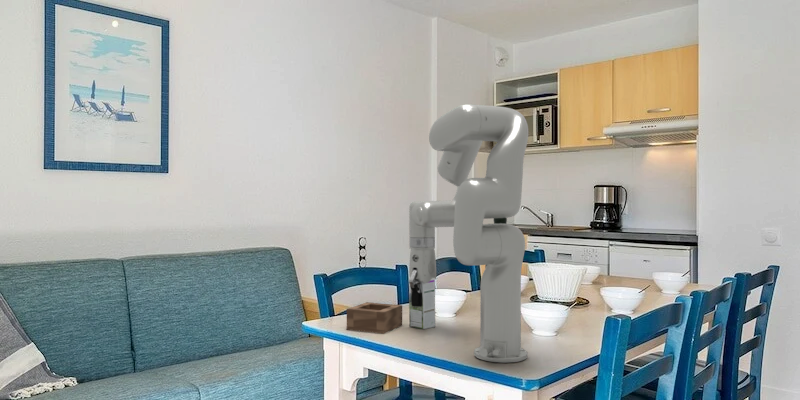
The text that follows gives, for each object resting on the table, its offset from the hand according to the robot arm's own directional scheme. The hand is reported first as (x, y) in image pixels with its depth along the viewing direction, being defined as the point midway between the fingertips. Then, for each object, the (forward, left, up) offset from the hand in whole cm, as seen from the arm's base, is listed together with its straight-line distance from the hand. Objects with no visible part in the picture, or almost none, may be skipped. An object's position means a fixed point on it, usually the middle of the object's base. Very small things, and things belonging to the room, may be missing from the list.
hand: (422, 303), depth 175 cm
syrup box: (0, 0, -7) cm, 7 cm away
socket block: (-7, +12, -7) cm, 15 cm away
